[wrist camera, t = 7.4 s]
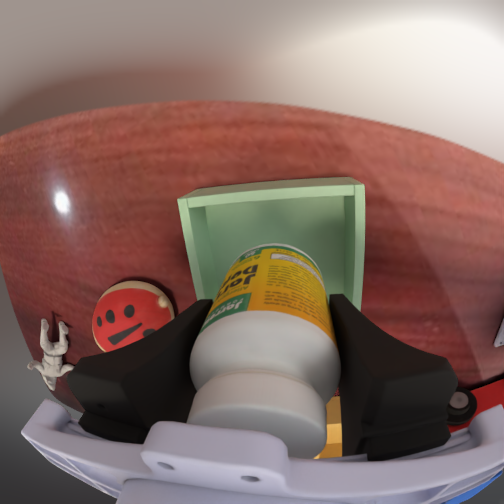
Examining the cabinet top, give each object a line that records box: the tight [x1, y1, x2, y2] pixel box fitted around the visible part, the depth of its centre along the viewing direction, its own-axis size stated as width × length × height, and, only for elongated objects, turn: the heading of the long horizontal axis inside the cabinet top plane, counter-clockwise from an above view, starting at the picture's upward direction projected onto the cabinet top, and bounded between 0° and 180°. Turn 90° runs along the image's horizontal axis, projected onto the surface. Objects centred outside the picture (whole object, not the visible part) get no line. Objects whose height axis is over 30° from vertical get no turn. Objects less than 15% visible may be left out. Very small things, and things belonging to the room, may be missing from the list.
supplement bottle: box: [187, 243, 341, 459], centre depth 11 cm, size 5×5×10 cm
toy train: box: [440, 379, 504, 504], centre depth 16 cm, size 9×20×15 cm, turn 96°
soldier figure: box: [28, 319, 75, 391], centre depth 26 cm, size 8×5×12 cm
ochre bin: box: [313, 396, 342, 459], centre depth 24 cm, size 10×10×4 cm
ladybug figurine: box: [92, 281, 175, 352], centre depth 21 cm, size 7×10×4 cm
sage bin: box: [177, 177, 365, 311], centre depth 18 cm, size 10×10×4 cm
